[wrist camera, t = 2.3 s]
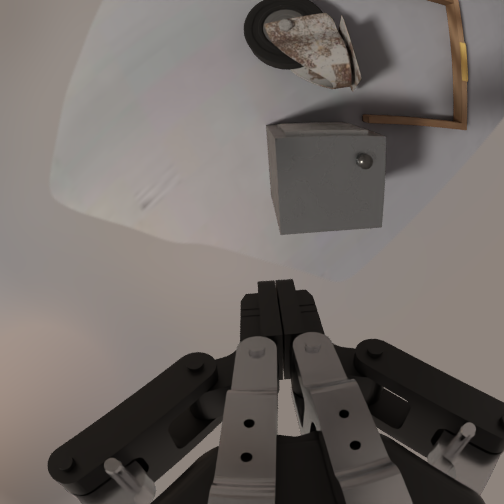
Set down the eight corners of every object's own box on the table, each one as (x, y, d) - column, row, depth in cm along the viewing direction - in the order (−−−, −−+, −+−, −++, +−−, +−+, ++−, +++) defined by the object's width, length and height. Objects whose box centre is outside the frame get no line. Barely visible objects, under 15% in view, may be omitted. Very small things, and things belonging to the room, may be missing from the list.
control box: (265, 122, 32) (275, 135, 22) (346, 120, 32) (389, 133, 22) (271, 196, 36) (281, 241, 26) (346, 192, 36) (383, 233, 26)
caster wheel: (244, 20, 29) (330, 4, 26) (266, 107, 32) (357, 91, 29) (230, -4, 23) (333, -23, 20) (256, 96, 26) (367, 78, 23)
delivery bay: (350, -20, 24) (357, -26, 22) (449, 1, 24) (459, -1, 22) (362, 121, 32) (370, 123, 30) (457, 127, 32) (467, 130, 30)
